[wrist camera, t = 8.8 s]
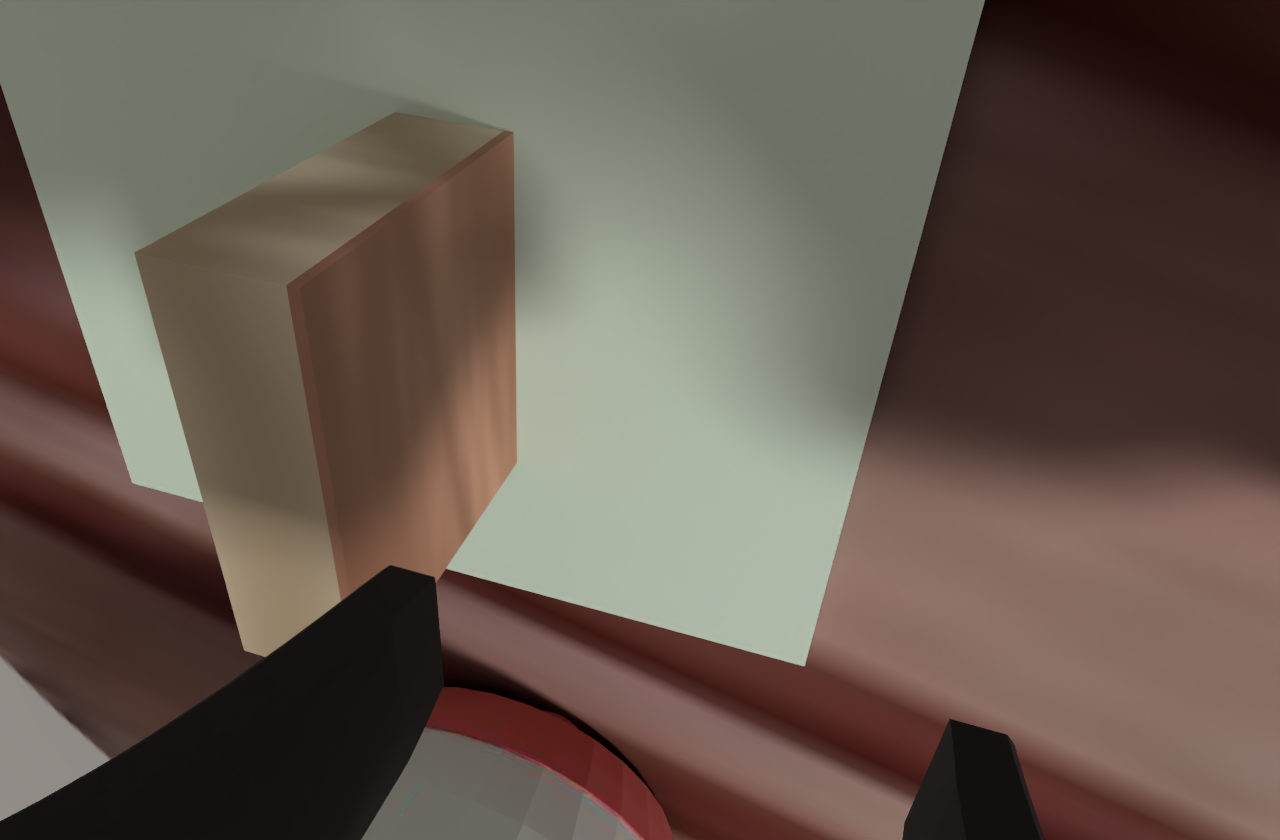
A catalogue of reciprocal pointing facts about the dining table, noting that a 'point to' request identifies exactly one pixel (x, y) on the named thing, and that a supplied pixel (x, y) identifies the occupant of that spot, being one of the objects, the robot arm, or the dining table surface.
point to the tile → (345, 363)
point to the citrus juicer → (513, 780)
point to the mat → (556, 247)
